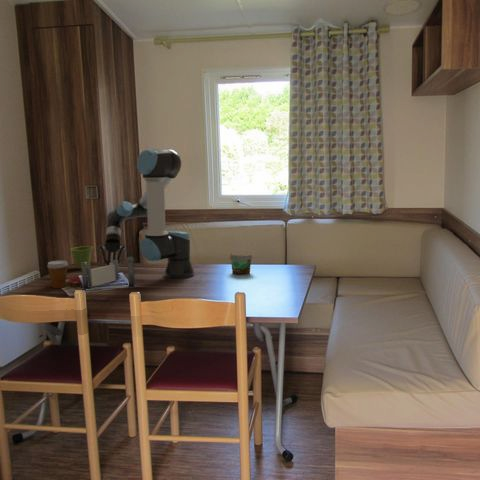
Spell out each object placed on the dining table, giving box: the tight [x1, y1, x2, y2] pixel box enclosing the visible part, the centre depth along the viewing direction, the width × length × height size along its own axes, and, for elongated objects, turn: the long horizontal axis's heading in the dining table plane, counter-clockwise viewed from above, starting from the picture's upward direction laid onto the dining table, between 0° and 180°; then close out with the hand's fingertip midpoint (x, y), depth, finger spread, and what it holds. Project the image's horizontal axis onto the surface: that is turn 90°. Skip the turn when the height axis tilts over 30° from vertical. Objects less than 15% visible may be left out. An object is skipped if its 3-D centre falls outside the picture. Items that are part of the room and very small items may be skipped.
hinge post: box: [81, 262, 91, 291], centre depth 245 cm, size 4×4×13 cm
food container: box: [229, 253, 253, 276], centre depth 271 cm, size 12×6×10 cm, turn 68°
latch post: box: [126, 255, 137, 289], centre depth 248 cm, size 4×4×15 cm
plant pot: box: [69, 245, 93, 270], centre depth 291 cm, size 12×12×11 cm
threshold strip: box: [90, 285, 128, 290], centre depth 248 cm, size 17×3×1 cm, turn 96°
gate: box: [87, 259, 120, 288], centre depth 254 cm, size 17×2×10 cm, turn 141°
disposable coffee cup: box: [46, 260, 69, 289], centre depth 251 cm, size 10×10×12 cm
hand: (110, 274), depth 261 cm, fingers closed
